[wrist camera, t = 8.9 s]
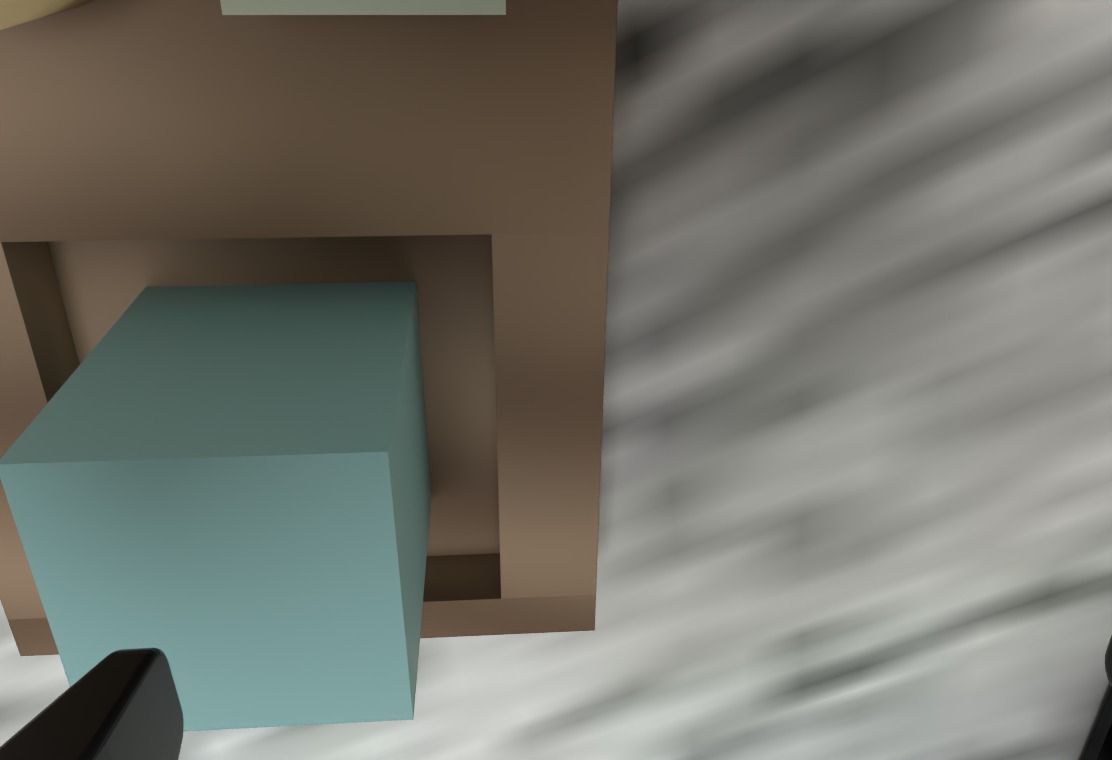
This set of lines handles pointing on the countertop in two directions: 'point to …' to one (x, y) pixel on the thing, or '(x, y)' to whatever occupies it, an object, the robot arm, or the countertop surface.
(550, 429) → the puzzle board
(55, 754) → the robot arm
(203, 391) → the teal block
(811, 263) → the countertop surface
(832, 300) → the countertop surface
